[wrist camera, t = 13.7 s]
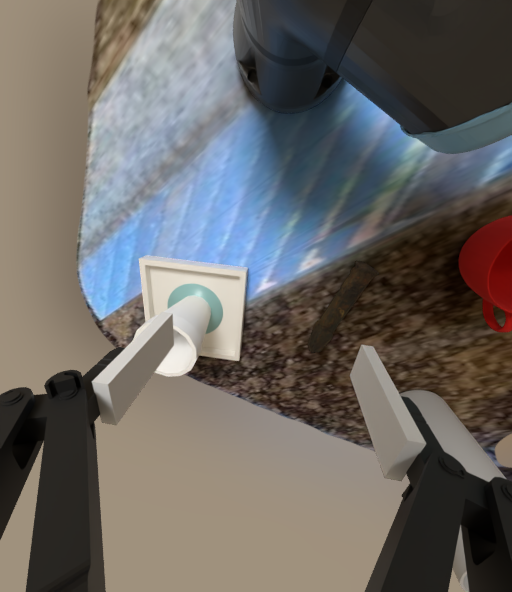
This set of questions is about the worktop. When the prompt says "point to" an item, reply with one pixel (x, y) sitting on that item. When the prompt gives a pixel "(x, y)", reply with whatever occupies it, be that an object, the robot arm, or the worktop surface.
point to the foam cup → (184, 335)
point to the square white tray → (204, 283)
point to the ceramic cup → (490, 269)
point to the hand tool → (341, 305)
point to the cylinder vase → (454, 454)
